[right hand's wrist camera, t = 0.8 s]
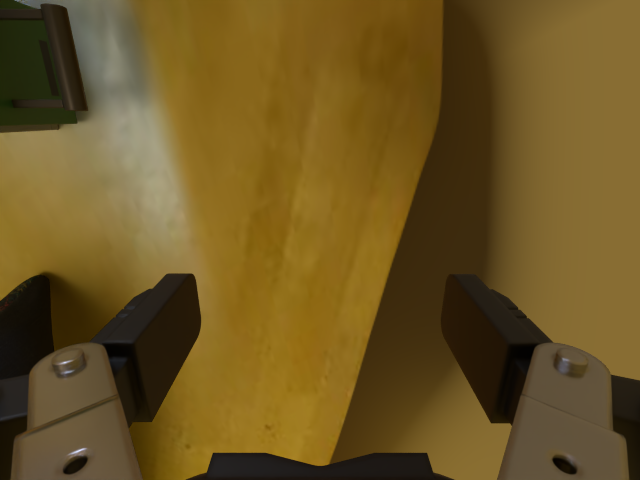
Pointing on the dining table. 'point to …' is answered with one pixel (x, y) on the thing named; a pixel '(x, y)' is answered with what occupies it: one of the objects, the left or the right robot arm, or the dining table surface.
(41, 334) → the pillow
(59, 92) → the drawer
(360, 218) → the dining table surface
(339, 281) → the dining table surface
